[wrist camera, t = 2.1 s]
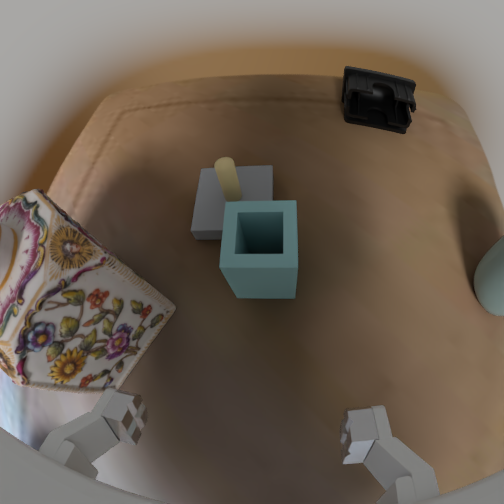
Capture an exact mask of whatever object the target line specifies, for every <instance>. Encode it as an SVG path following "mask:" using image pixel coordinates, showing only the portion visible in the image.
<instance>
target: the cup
mask: <svg viewBox="0 0 504 504" xmlns="http://www.w3.org/2000/svg"><path fill="white" fill-rule="evenodd" d="M474 289H475V293H476V296H477V298H478V300H479V302H480V304H481V305H482V307H483V308H484V309H485V310H486V311H487V312H488V313H490V314H492V315H495V316H504V235H503V236H502V237H501V238H500V239H499V240H498V241H497V242H496V243H495V244H494V245H493V246H492V247H491V248H490V249H489V250H488V251H487V252H486V254H485V255H484V256H483V257H482V259H481V260H480V262H479V264H478V265H477V268H476V270H475V274H474Z"/></svg>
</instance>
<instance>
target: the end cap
mask: <svg viewBox="0 0 504 504" xmlns="http://www.w3.org/2000/svg"><path fill="white" fill-rule="evenodd" d="M415 87H416V84H415V82H414V81H413V80H410V79H406V78H403V77H399V76H395V75H390V74H385V73H381V72H377V71H372V70H367V69H361V68H355V67H349V66H346V67H345V69H344V76H343V88H342V102H343V103H344V120H345V122H347V123H351V124H357V125H362V126H368V127H373V128H378V129H382V130H387V131H392V132H396V133H400V134H405V133H406V130H407V129H406V128H408V127H409V125H410V123H411V122H412V120H411V115H410V111H409V106H410V109H411V112H413V113H414V111H415V110H416V102H415V99H414V96H413V93H414V90H415Z"/></svg>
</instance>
